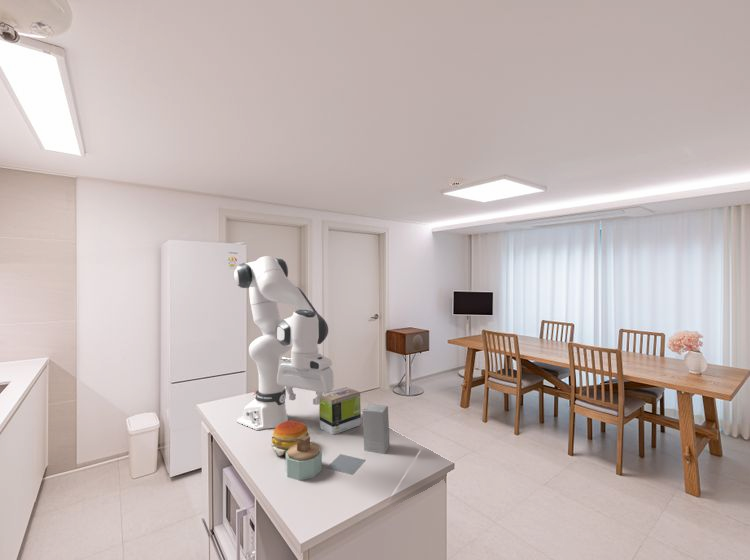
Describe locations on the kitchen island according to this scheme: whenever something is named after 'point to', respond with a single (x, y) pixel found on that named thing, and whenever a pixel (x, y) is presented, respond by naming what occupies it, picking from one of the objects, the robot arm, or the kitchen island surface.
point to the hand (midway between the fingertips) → (304, 401)
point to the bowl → (303, 467)
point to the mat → (346, 464)
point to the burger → (287, 435)
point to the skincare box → (376, 428)
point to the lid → (303, 449)
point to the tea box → (340, 410)
